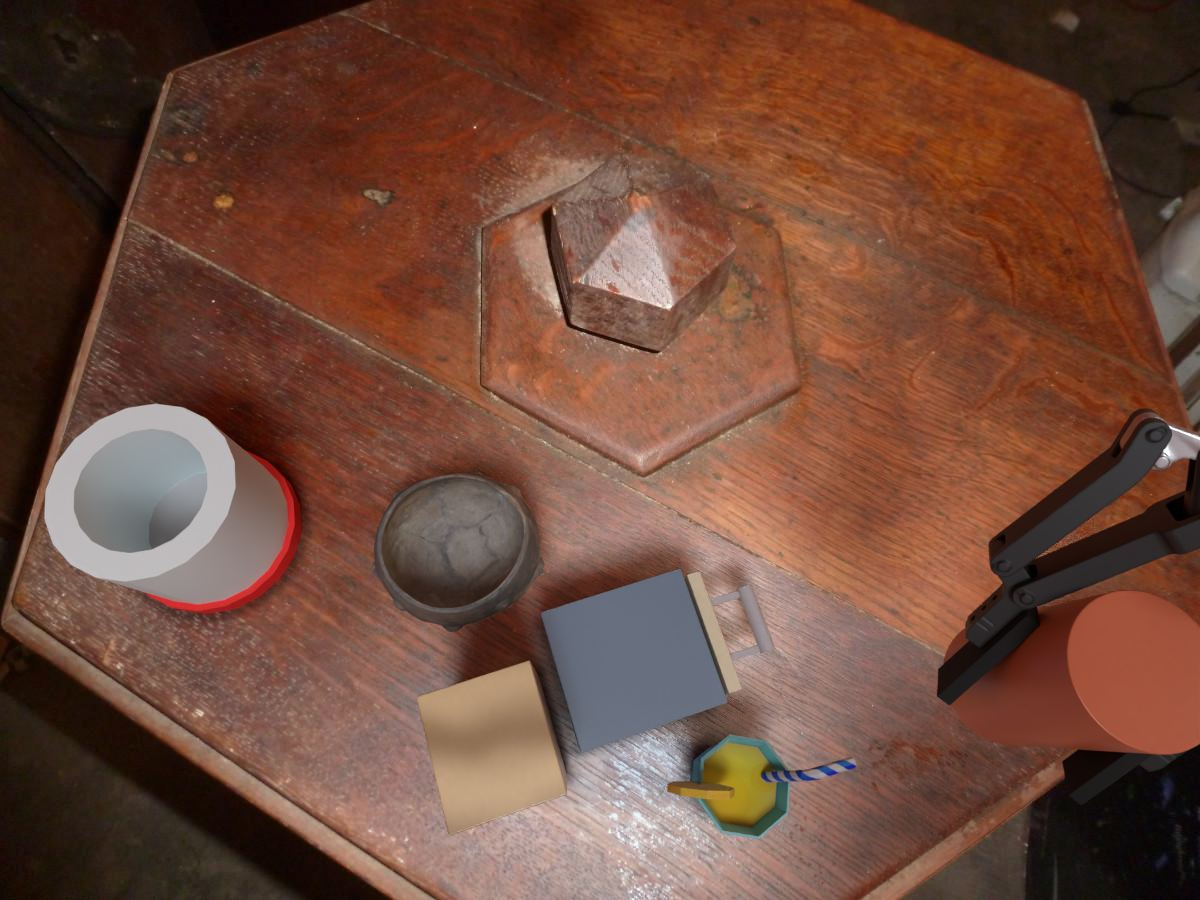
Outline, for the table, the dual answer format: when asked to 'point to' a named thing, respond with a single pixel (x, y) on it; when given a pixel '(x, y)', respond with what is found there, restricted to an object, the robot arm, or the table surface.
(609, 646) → the cabinet
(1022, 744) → the tea tin
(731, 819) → the cup
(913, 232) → the table surface
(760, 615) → the drawer
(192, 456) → the container
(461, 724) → the stand
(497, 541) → the bowl
